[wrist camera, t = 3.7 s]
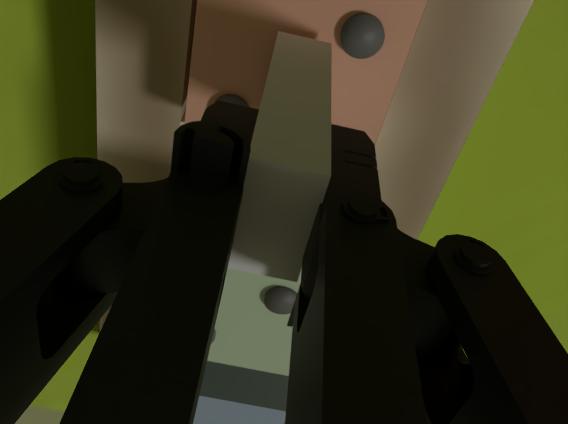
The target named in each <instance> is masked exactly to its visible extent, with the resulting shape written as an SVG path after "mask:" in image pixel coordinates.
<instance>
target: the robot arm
mask: <svg viewBox="0 0 568 424" xmlns="http://www.w3.org/2000/svg"><path fill="white" fill-rule="evenodd" d="M331 75H332V43H327V42H323V41H319V40H315V39H310V38H306V37H302V36H298V35H293V34H289V33H285V32H281V31H278V34H277V39H276V43H275V47H274V51H273V55H272V59H271V63H270V67H269V71H268V75H267V80H266V84H265V88H264V92H263V96H262V100H261V104H260V108H259V109H256V108H251V107H247V106H242V105H238V104H233V103H229V102H224V101H220V100H218V101H217V102H215V103H214V104H212V105H210V106H209V107H207V108H206V109H205V111H204V114H203V116H202V118H201V121H192V122H189V123H186V124H184V125H181V126H180V127H179V128H178V129H177V130H176V131H175V132H174V139H173V150H172V161H171V172H170V174H169V177H168V178H165V179H163V180H159V181H154V182H144V183H123V180H122V175H121V173H120V172H119V171H118V170H117V168H116V167H114V166H112V165H110V164H109V163H107V162H105V161H102V160H97V159H93V158H82V157H80V158H78V157H74V158H69V159H64V160H59V161H57V162H55V163H53V164H51V165H49V166H47V167H45V168H44V169H43V170H41V171H40V172H38V173H37V174H36V175H34V176H33V177H31V178H30V179H29V180H27V181H26V182H25V183H23V184H22V185H20V186H19V187H18V188H16V189H15V190H13V191H12V192H11V193H9V194H8V195H7V196H5V197H4V198H2V199H1V200H0V424H15V422H16V421H17V420H18V419H19V417H20V416H21V415H22V414H23V413H24V411H25V410H26V409H27V408H28V406H29V405H30V404H31V403H32V402H33V400H34V399H35V398H36V397H37V396H38V394H39V393H40V392H41V391H42V389H43V388H44V387H45V386H46V385H47V383H48V382H49V381H50V380H51V378H52V377H53V376H54V375H55V374H56V372H57V371H58V370H59V369H60V367H61V366H62V365H63V364H64V363H65V361H66V360H67V359H68V358H69V356H70V355H71V354H72V353H73V352H74V350H75V349H76V348H77V347H78V345H79V344H80V343H81V342H82V341H83V339H84V338H85V337H86V336H87V335H88V333H89V332H90V331H91V330H92V328H93V327H94V326H95V325H96V324H97V322H98V321H99V320H100V319H101V317H102V316H103V315H104V314H105V313H106V311H107V310H108V309H109V308H110V306H111V305H112V306H111V308H110V310H109V313H108V315H107V317H106V320H105V322H104V324H103V326H102V329H101V331H100V333H99V335H98V338H97V340H96V342H95V344H94V347H93V349H92V351H91V354H90V356H89V358H88V360H87V363H86V365H85V367H84V369H83V372H82V374H81V376H80V379H79V381H78V383H77V385H76V388H75V390H74V392H73V394H72V397H71V399H70V401H69V403H68V406H67V408H66V410H65V413H64V415H63V417H62V419H61V422H60V424H193V422H194V417H195V413H196V408H197V404H198V399H199V395H200V390H201V386H202V381H203V377H204V372H205V368H206V363H207V359H208V355H209V350H210V346H211V341H212V337H213V332H214V328H215V323H216V319H217V314H218V310H219V305H220V301H221V296H222V292H223V287H224V282H225V277H226V272H227V268H229V269H234V270H239V271H244V272H249V273H254V274H259V275H264V276H269V277H274V278H278V279H283V280H288V281H293V282H297V281H298V278H299V274H300V271H301V268H302V271H301V283H300V286H299V290H298V293H297V296H296V299H295V302H294V305H293V308H292V311H291V314H290V317H289V320H288V323H287V326H290V327H292V326H293V329H292V341H291V354H290V366H289V379H288V391H287V404H286V416H285V424H568V354H567V352H566V351H565V349H564V348H563V346H562V345H561V343H560V342H559V340H558V339H557V337H556V336H555V334H554V333H553V331H552V330H551V328H550V327H549V325H548V324H547V322H546V321H545V319H544V318H543V316H542V315H541V313H540V312H539V311H538V309H537V308H536V306H535V305H534V303H533V302H532V300H531V299H530V297H529V296H528V294H527V293H526V291H525V290H524V288H523V287H522V285H521V284H520V282H519V281H518V279H517V278H516V276H515V275H514V273H513V272H512V270H511V269H510V267H509V266H508V264H507V263H506V261H505V260H504V259H503V258H502V257H501V256H500V255H499V254H498V252H497V251H495V250H494V249H493V248H491V247H490V246H488V245H487V244H485V243H484V242H482V241H480V240H477V239H475V238H472V237H469V236H464V235H458V234H455V235H446V236H445V237H443V238H441V239H440V240H439V241H438V242H437V244H436V246H435V247H433V246H430V245H428V244H426V243H423V242H421V241H419V240H417V239H414V238H412V237H410V236H409V235H407V234H405V233H403V232H402V231H400V230H399V229H398V228H397V222H396V218H395V216H394V214H393V211H392V210H391V209H390V208H389V207H388V206H387V205H386V204H385V203H384V202H383V201H382V199H381V191H380V184H379V176H378V170H377V160H376V152H375V144H374V143H373V142H372V140H371V139H370V138H369V136H368V135H367V134H366V132H365V131H361V130H356V129H352V128H348V127H343V126H339V125H334V124H331ZM462 348H463V349H464V351H465V353H466V355H467V357H468V358H467V357H466V355H465V353H464V351H463V349H462ZM468 359H469V360H468Z"/></svg>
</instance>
